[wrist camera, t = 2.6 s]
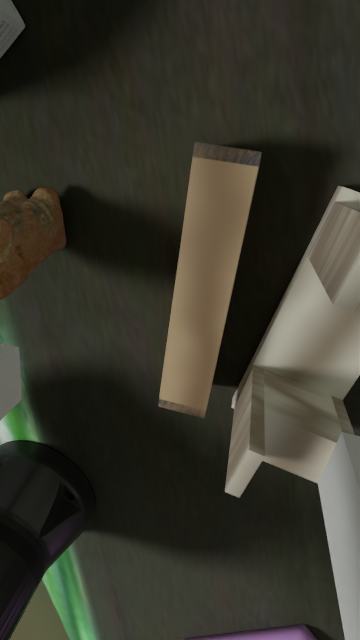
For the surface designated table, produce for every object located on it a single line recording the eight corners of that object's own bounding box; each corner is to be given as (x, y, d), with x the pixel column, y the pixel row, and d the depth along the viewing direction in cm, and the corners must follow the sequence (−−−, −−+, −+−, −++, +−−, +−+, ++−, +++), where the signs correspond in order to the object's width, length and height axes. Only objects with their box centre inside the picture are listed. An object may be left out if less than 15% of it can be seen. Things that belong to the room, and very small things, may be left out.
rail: (171, 374, 34) (157, 406, 29) (206, 146, 25) (194, 142, 21) (212, 384, 33) (204, 418, 28) (261, 155, 24) (261, 151, 20)
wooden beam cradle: (232, 397, 33) (219, 501, 23) (338, 185, 24) (394, 197, 14) (312, 429, 33) (335, 550, 22) (449, 225, 24) (593, 268, 13)
